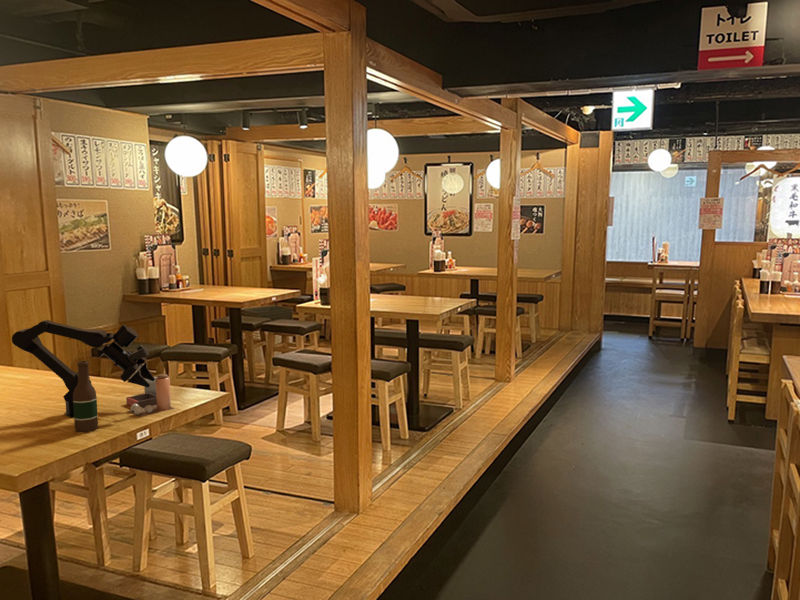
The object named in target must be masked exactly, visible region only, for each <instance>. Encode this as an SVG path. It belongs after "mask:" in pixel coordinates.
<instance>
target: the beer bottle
mask: <svg viewBox="0 0 800 600" xmlns="http://www.w3.org/2000/svg"><path fill="white" fill-rule="evenodd" d="M89 365H90V363H89V361H87V360H80V361H77V365H76V366H77V367H78V368H77V373H78V385H77V386H76V388H75V390H74V393H73V407H74V417H73V420H74V421H73V422H74V431H75V433H79V432H86V433H91V432H90V431H92V432H95V431H97V430H98V428H99V420H98V399H97V392H96V389H95V387H94V386H93V385H92V382H91V383H90V381H91V378H89V377H90V371H89ZM96 429H97V430H96Z"/></svg>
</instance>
